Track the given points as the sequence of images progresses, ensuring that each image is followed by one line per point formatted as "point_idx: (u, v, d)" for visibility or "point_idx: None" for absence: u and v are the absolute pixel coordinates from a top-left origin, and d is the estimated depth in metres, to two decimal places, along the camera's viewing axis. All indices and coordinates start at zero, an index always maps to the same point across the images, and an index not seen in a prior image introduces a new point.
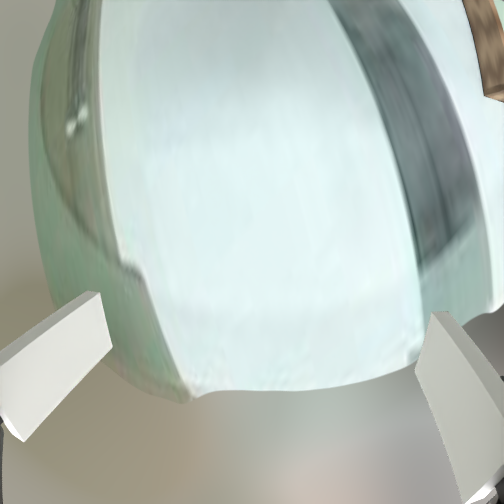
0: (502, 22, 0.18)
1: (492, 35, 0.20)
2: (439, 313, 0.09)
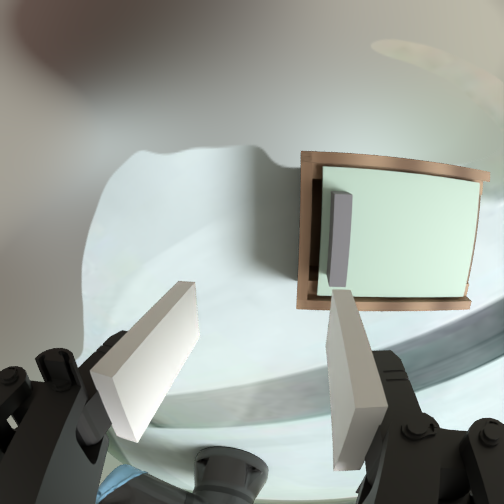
0: (386, 291, 0.28)
1: None
2: (339, 290, 0.11)
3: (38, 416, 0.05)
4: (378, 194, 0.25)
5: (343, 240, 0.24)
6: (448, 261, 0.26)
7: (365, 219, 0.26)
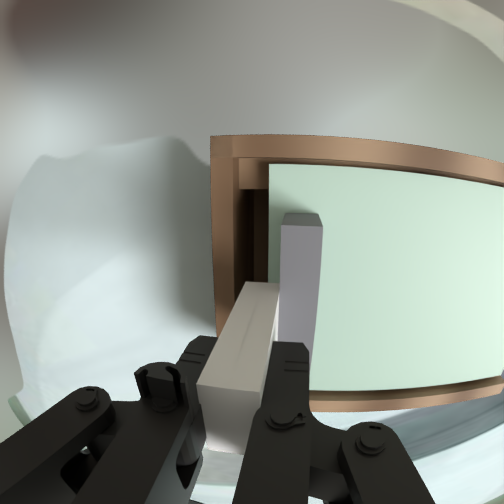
0: (384, 382, 0.15)
1: None
2: (269, 284, 0.12)
3: (132, 441, 0.05)
4: (381, 217, 0.13)
5: (302, 322, 0.12)
6: (490, 329, 0.13)
7: (354, 267, 0.14)
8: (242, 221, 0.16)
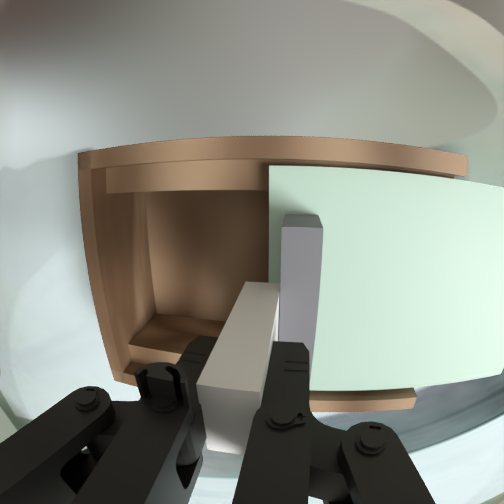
0: (385, 382, 0.15)
1: None
2: (269, 284, 0.12)
3: (132, 441, 0.05)
4: (380, 218, 0.13)
5: (303, 323, 0.12)
6: (490, 329, 0.13)
7: (354, 268, 0.14)
8: (116, 220, 0.17)
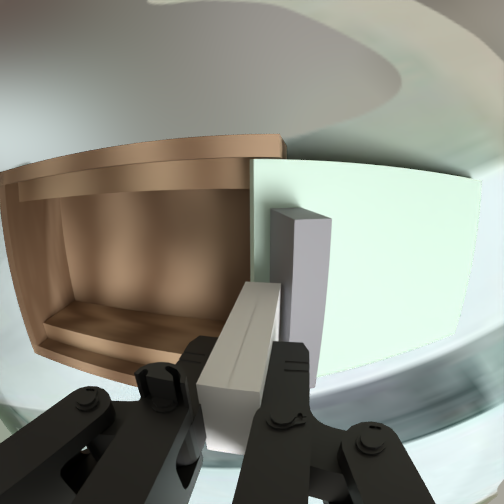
0: (363, 359, 0.17)
1: None
2: (269, 284, 0.12)
3: (132, 441, 0.05)
4: (355, 207, 0.14)
5: (312, 314, 0.12)
6: (443, 296, 0.18)
7: (334, 256, 0.15)
8: (29, 222, 0.18)
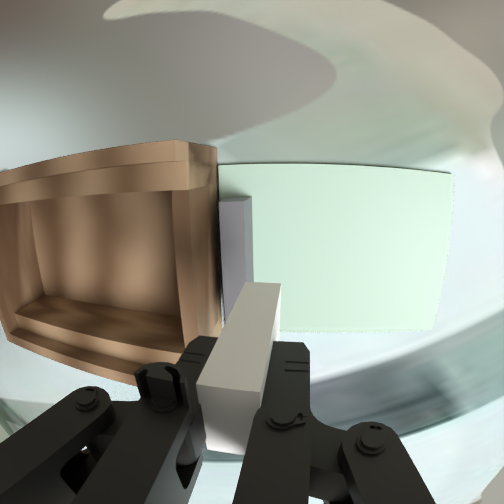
0: (318, 326, 0.22)
1: None
2: (269, 284, 0.12)
3: (132, 441, 0.05)
4: (296, 197, 0.20)
5: (236, 265, 0.18)
6: (408, 285, 0.20)
7: (280, 232, 0.20)
8: (2, 223, 0.19)
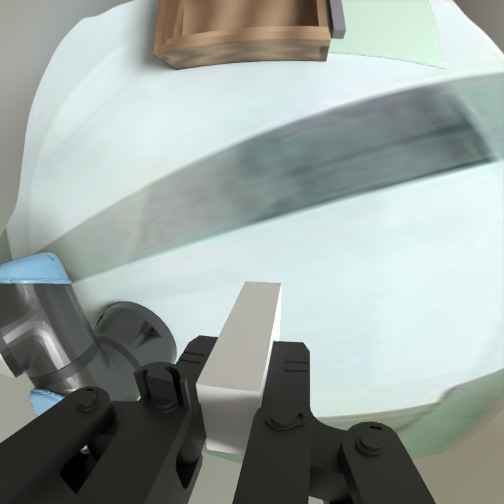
0: (380, 52, 0.29)
1: (254, 46, 0.28)
2: (269, 284, 0.12)
3: (132, 441, 0.05)
4: None
5: (337, 4, 0.26)
6: (421, 39, 0.27)
7: (352, 8, 0.28)
8: None
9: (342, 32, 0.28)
